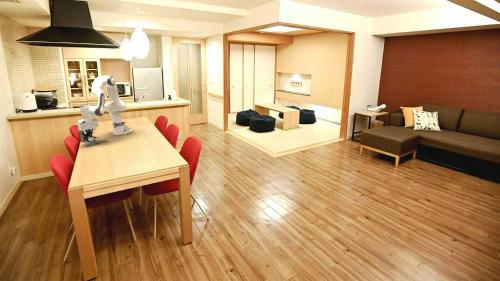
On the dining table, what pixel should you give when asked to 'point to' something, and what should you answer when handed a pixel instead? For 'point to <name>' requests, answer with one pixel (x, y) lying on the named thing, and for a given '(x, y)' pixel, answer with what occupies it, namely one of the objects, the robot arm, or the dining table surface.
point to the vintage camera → (85, 136)
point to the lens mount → (91, 142)
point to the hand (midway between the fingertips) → (90, 132)
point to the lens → (91, 138)
